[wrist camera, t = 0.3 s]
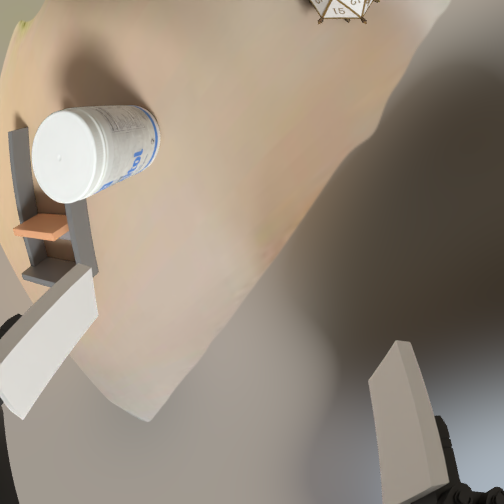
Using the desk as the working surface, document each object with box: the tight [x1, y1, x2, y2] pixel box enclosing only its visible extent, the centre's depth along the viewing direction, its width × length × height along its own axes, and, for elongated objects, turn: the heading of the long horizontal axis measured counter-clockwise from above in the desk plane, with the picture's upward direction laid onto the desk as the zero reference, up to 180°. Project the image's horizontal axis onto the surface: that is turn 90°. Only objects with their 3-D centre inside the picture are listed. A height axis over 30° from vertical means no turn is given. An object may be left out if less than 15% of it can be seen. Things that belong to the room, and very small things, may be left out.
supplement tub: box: [32, 105, 160, 203], centre depth 28 cm, size 10×10×15 cm
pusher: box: [13, 213, 71, 241], centre depth 39 cm, size 4×11×7 cm, turn 87°
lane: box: [8, 127, 98, 287], centre depth 37 cm, size 26×14×7 cm, turn 176°
